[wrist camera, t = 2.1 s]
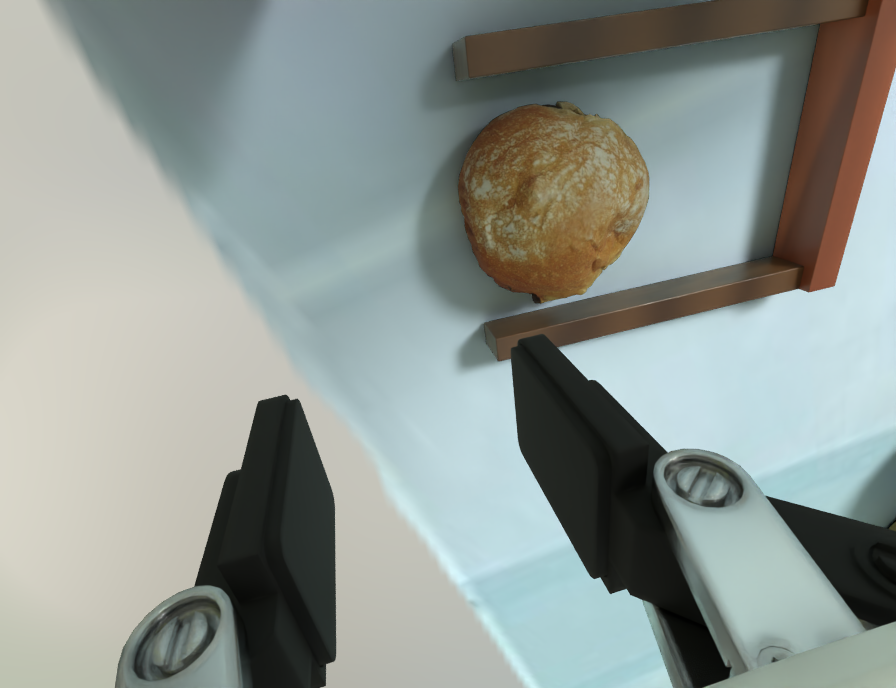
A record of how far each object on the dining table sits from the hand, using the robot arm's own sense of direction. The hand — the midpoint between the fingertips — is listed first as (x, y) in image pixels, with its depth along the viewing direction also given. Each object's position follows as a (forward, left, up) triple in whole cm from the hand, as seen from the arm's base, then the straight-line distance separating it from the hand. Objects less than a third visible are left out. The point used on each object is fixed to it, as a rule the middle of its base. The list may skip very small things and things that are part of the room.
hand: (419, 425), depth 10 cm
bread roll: (-10, 0, -18) cm, 20 cm away
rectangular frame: (-18, 0, -17) cm, 25 cm away
